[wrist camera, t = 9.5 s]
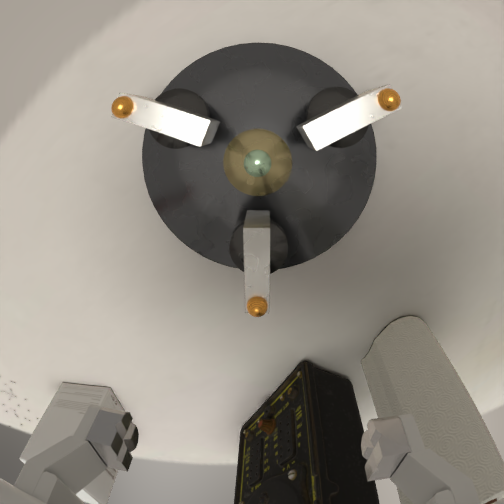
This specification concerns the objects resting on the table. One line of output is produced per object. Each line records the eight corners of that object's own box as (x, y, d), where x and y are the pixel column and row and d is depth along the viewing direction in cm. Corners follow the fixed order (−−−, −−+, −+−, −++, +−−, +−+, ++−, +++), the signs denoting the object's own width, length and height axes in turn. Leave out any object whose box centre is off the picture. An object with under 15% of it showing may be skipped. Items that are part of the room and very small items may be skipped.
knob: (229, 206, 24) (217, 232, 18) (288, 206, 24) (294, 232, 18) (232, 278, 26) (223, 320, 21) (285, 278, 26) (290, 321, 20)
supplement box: (88, 420, 40) (54, 492, 26) (62, 380, 36) (16, 457, 22) (136, 427, 39) (107, 510, 25) (111, 386, 35) (69, 477, 22)
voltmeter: (297, 351, 31) (314, 603, 8) (360, 375, 32) (409, 583, 9) (232, 426, 37) (212, 602, 14) (288, 443, 38) (291, 604, 15)
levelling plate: (370, 55, 20) (389, 43, 16) (360, 263, 27) (374, 285, 23) (146, 57, 21) (124, 47, 17) (159, 261, 28) (144, 283, 24)
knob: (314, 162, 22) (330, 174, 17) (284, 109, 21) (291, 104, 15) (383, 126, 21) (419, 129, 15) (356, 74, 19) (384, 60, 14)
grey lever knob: (229, 104, 21) (217, 97, 15) (207, 159, 22) (188, 171, 17) (154, 80, 20) (120, 69, 15) (135, 133, 22) (97, 139, 16)
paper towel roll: (433, 313, 29) (530, 478, 9) (416, 357, 31) (484, 515, 12) (373, 314, 29) (452, 515, 9) (360, 360, 31) (408, 544, 12)
